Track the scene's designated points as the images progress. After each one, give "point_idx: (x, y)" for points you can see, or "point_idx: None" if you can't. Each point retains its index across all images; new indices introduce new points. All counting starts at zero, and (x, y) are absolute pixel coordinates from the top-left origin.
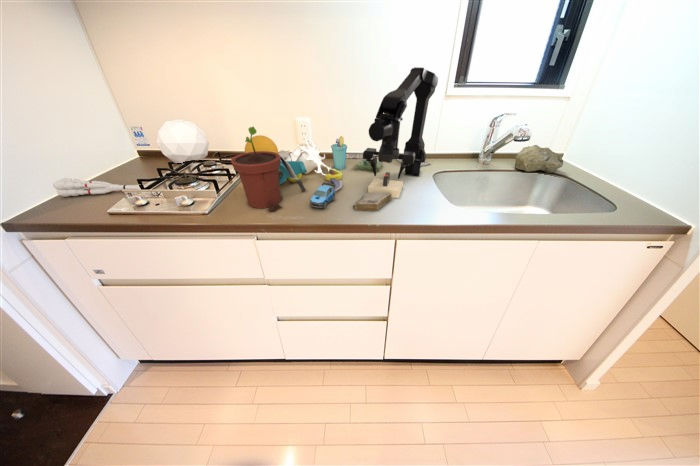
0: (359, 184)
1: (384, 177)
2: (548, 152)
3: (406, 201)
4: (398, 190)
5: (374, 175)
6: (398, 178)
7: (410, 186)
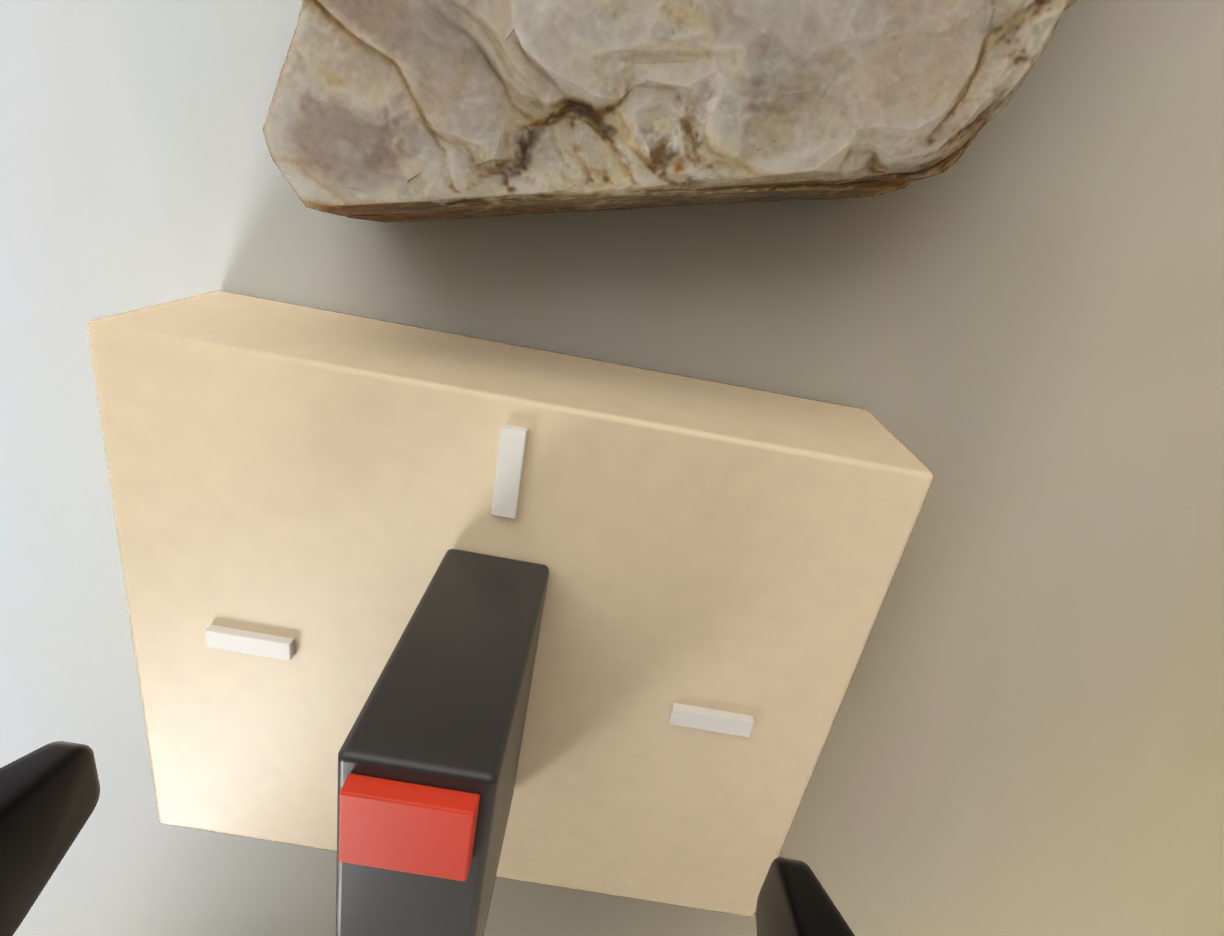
0: (996, 774)
1: (470, 741)
2: None
3: (13, 164)
4: (114, 364)
5: (815, 885)
6: (39, 759)
7: (133, 784)
